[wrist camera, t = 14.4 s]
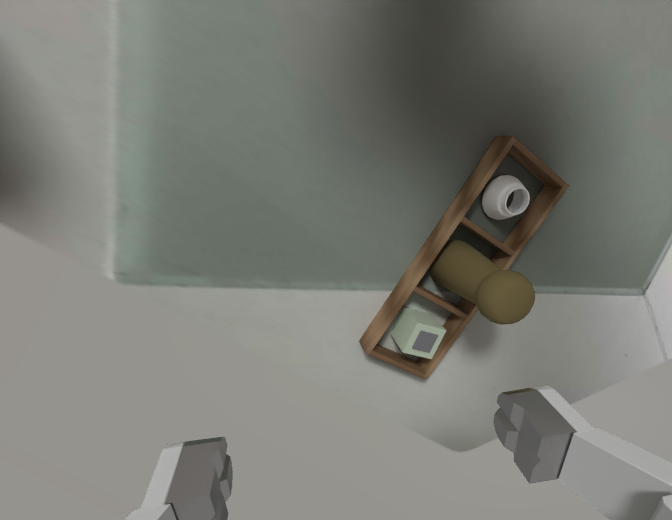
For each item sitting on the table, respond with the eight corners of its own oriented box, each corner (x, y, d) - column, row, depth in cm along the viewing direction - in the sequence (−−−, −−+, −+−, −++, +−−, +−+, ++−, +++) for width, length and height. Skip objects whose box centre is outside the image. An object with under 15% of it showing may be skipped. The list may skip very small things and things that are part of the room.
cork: (474, 281, 41) (543, 327, 31) (429, 291, 40) (485, 340, 30) (476, 235, 39) (550, 268, 29) (428, 244, 38) (488, 281, 28)
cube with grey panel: (403, 306, 40) (418, 323, 37) (430, 313, 42) (447, 331, 38) (390, 333, 41) (403, 353, 38) (416, 340, 43) (432, 359, 39)
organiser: (496, 136, 36) (512, 135, 33) (551, 183, 39) (569, 185, 37) (359, 341, 41) (364, 353, 38) (417, 366, 44) (426, 379, 42)
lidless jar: (525, 183, 38) (492, 168, 37) (545, 186, 36) (510, 170, 34) (505, 223, 40) (472, 210, 38) (523, 229, 37) (488, 216, 36)
